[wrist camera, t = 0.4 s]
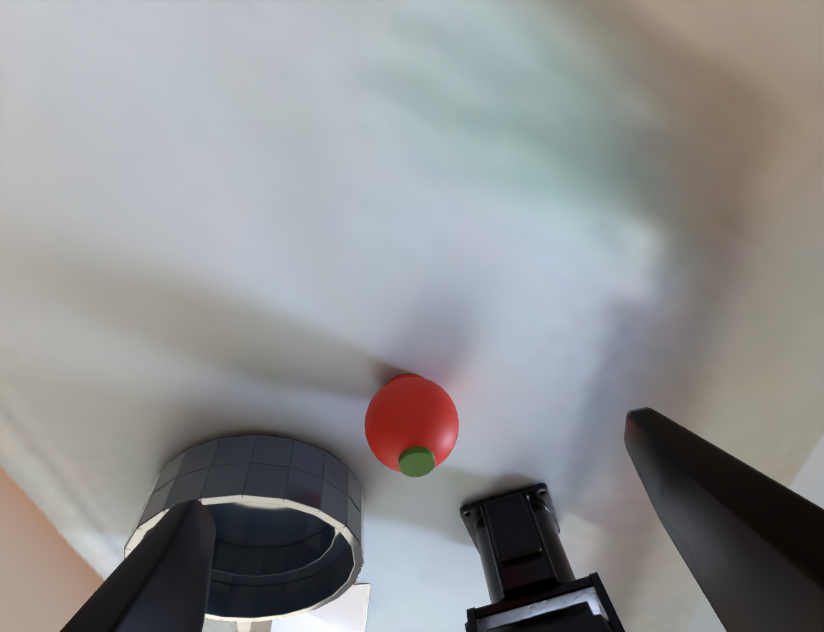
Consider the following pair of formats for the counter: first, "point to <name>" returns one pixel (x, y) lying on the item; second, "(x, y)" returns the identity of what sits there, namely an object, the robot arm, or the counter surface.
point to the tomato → (411, 425)
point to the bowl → (267, 523)
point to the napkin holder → (322, 616)
